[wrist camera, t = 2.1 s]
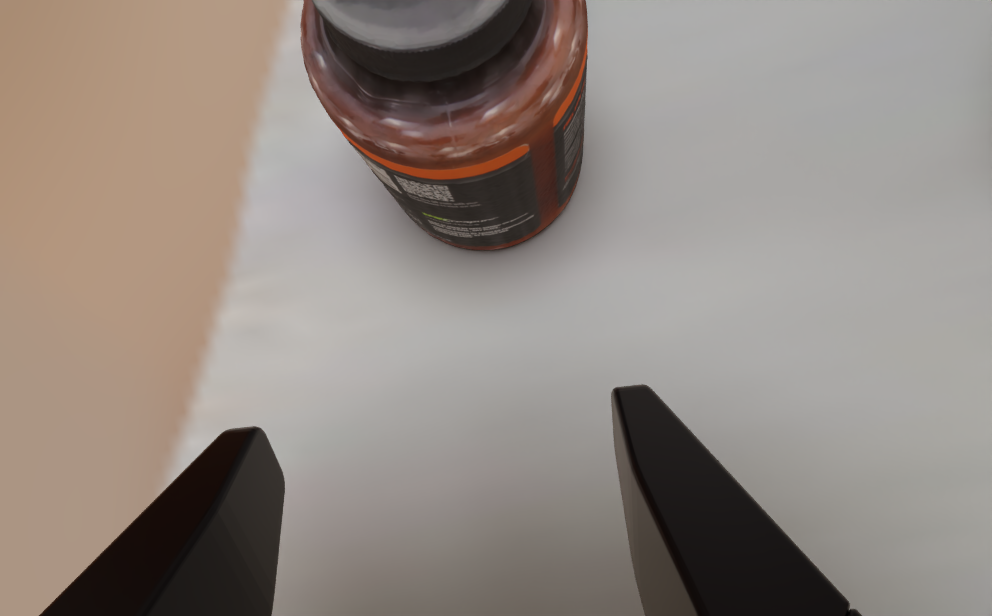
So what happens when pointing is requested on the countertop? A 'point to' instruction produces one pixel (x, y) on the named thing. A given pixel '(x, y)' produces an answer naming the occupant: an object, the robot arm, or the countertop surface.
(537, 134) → the supplement bottle
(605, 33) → the countertop surface
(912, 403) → the countertop surface
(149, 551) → the robot arm
